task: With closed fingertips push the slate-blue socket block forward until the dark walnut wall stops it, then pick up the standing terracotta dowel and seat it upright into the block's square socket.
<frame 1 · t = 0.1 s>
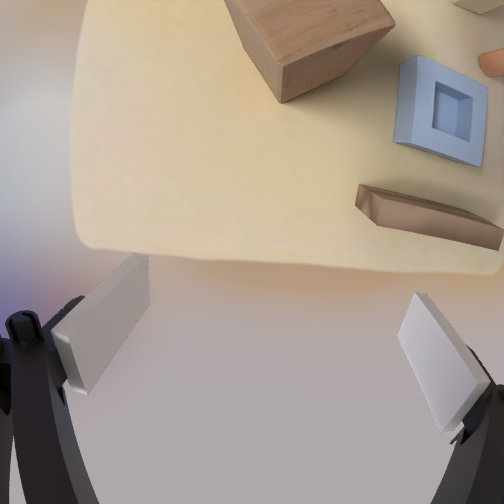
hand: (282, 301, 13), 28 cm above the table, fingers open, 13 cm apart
socket block: (442, 112, 30), point 3 cm above the table, slide at 0.0 cm
wooden block: (293, 59, 33), on the table
wall: (417, 207, 38), on the table
dowel: (487, 65, 28), on the table
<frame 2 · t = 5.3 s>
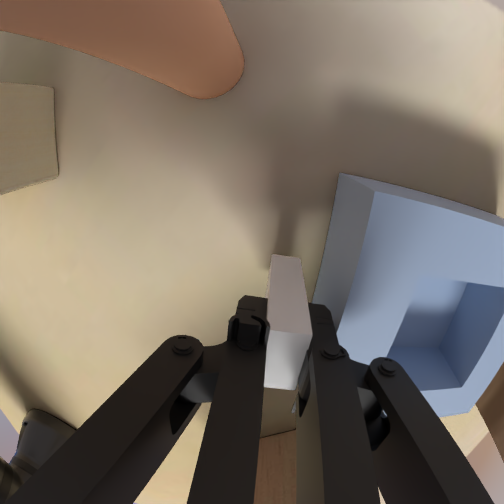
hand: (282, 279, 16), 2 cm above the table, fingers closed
toy refrigerator: (24, 138, 15), on the table
socket block: (425, 311, 14), point 3 cm above the table, slide at 0.7 cm, touching gripper
wooden block: (286, 455, 25), on the table
dowel: (207, 65, 13), on the table
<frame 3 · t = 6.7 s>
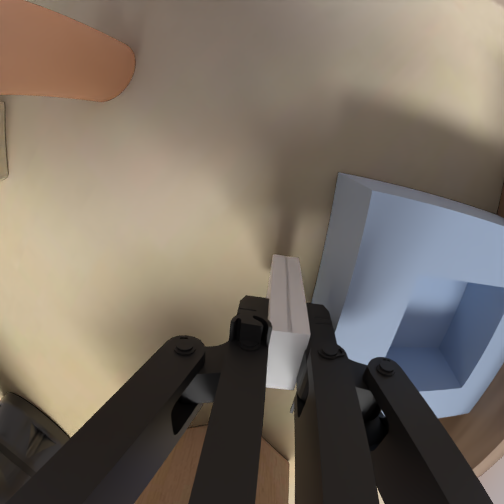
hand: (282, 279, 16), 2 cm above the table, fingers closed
socket block: (425, 311, 14), point 3 cm above the table, slide at 7.0 cm, touching gripper, wall
wooden block: (226, 448, 25), on the table
wall: (483, 296, 16), on the table
dowel: (107, 71, 13), on the table
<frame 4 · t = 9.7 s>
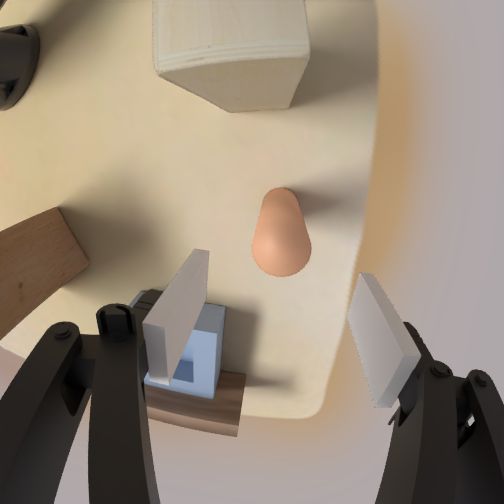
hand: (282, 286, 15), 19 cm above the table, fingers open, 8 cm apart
toy refrigerator: (259, 78, 28), on the table
socket block: (175, 346, 38), point 3 cm above the table, slide at 7.0 cm
wooden block: (57, 248, 38), on the table
wall: (182, 369, 43), on the table
dowel: (280, 205, 33), on the table
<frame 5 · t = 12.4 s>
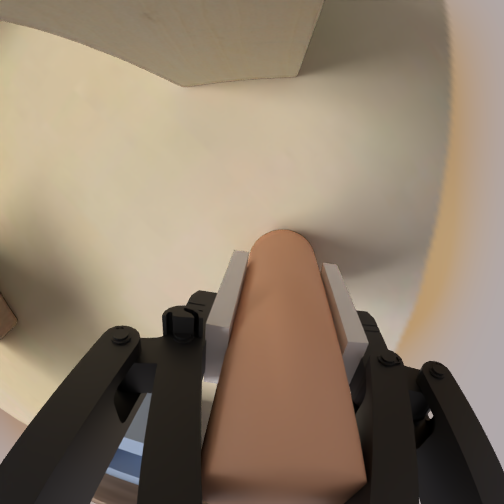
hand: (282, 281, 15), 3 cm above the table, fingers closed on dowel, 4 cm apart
toy refrigerator: (242, 25, 13), on the table
socket block: (132, 440, 23), point 3 cm above the table, slide at 7.0 cm
wall: (151, 450, 28), on the table
dowel: (282, 261, 18), on the table, touching gripper
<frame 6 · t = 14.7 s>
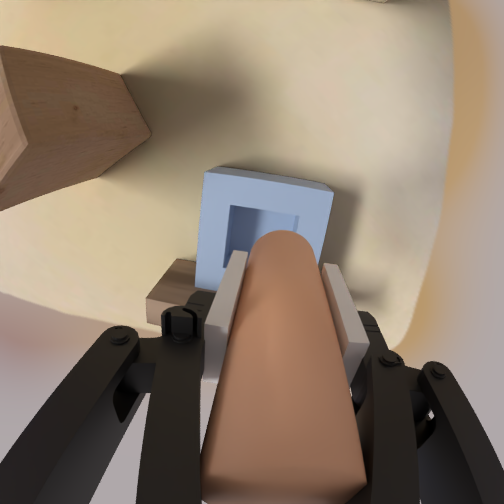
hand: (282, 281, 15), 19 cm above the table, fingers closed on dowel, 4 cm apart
socket block: (261, 233, 31), point 3 cm above the table, slide at 7.0 cm
wooden block: (106, 126, 31), on the table
wall: (253, 282, 37), on the table
dowel: (282, 261, 18), point 16 cm above the table, touching gripper
when the fingers open (8 cm above the table, at t = 17.2 s): dowel drops 2 cm, resting on socket block.
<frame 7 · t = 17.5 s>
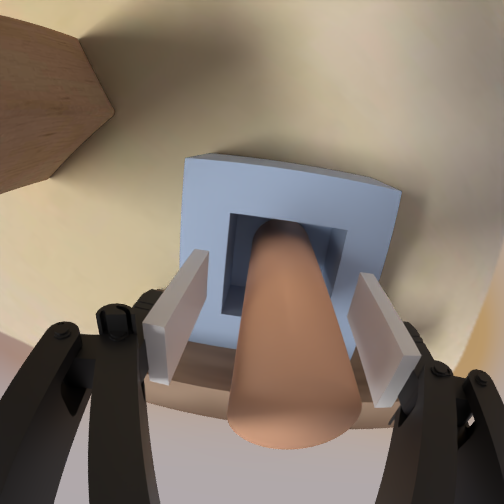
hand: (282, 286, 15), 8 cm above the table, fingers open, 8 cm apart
socket block: (280, 255, 20), point 3 cm above the table, slide at 7.0 cm, touching dowel
wooden block: (60, 107, 20), on the table
wall: (266, 321, 25), on the table
dowel: (281, 245, 20), point 2 cm above the table, touching socket block
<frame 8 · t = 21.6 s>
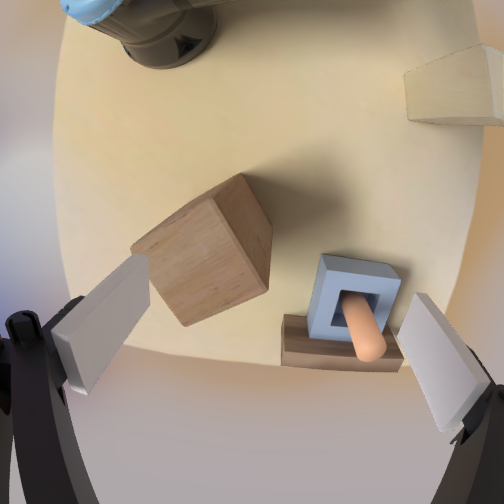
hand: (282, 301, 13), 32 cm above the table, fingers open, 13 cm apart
toy refrigerator: (424, 100, 35), on the table
socket block: (351, 300, 45), point 3 cm above the table, slide at 7.0 cm, touching dowel
wooden block: (229, 215, 45), on the table
wall: (336, 327, 51), on the table
dowel: (350, 295, 46), point 2 cm above the table, touching socket block
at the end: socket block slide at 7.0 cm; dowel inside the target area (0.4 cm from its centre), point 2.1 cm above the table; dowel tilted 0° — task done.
